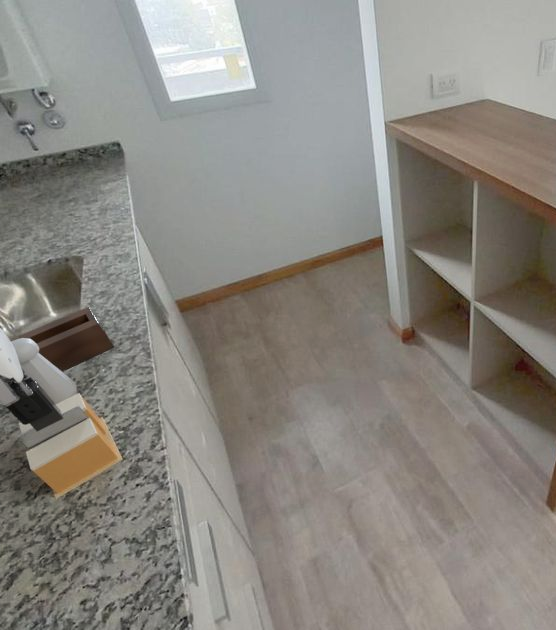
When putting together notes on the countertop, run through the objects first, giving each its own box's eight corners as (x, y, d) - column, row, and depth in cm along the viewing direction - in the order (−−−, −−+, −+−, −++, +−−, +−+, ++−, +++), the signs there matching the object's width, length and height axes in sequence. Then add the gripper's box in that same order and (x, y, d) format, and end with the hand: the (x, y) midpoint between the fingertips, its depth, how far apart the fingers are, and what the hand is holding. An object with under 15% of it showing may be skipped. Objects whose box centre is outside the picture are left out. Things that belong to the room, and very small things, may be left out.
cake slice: (57, 493, 59) (30, 469, 55) (52, 477, 61) (25, 452, 57) (118, 457, 63) (96, 432, 59) (110, 443, 65) (89, 417, 61)
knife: (53, 476, 61) (-12, 410, 52) (50, 467, 62) (-14, 401, 53) (108, 445, 64) (56, 379, 56) (105, 437, 66) (53, 371, 57)
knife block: (45, 379, 78) (24, 355, 74) (38, 359, 82) (18, 335, 79) (114, 347, 84) (98, 323, 80) (104, 330, 88) (88, 306, 84)
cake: (58, 502, 59) (27, 474, 55) (43, 453, 66) (14, 424, 61) (125, 462, 63) (101, 433, 59) (105, 419, 70) (81, 391, 66)
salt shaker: (58, 420, 70) (5, 362, 62) (35, 411, 72) (-19, 353, 64) (91, 393, 75) (45, 336, 66) (68, 385, 76) (22, 328, 68)
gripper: (-117, 283, 48) (-6, 395, 59) (-121, 351, 39) (11, 468, 50) (-31, 256, 52) (57, 366, 63) (-16, 312, 43) (84, 429, 54)
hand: (36, 410), depth 57 cm, fingers closed on knife, 2 cm apart
